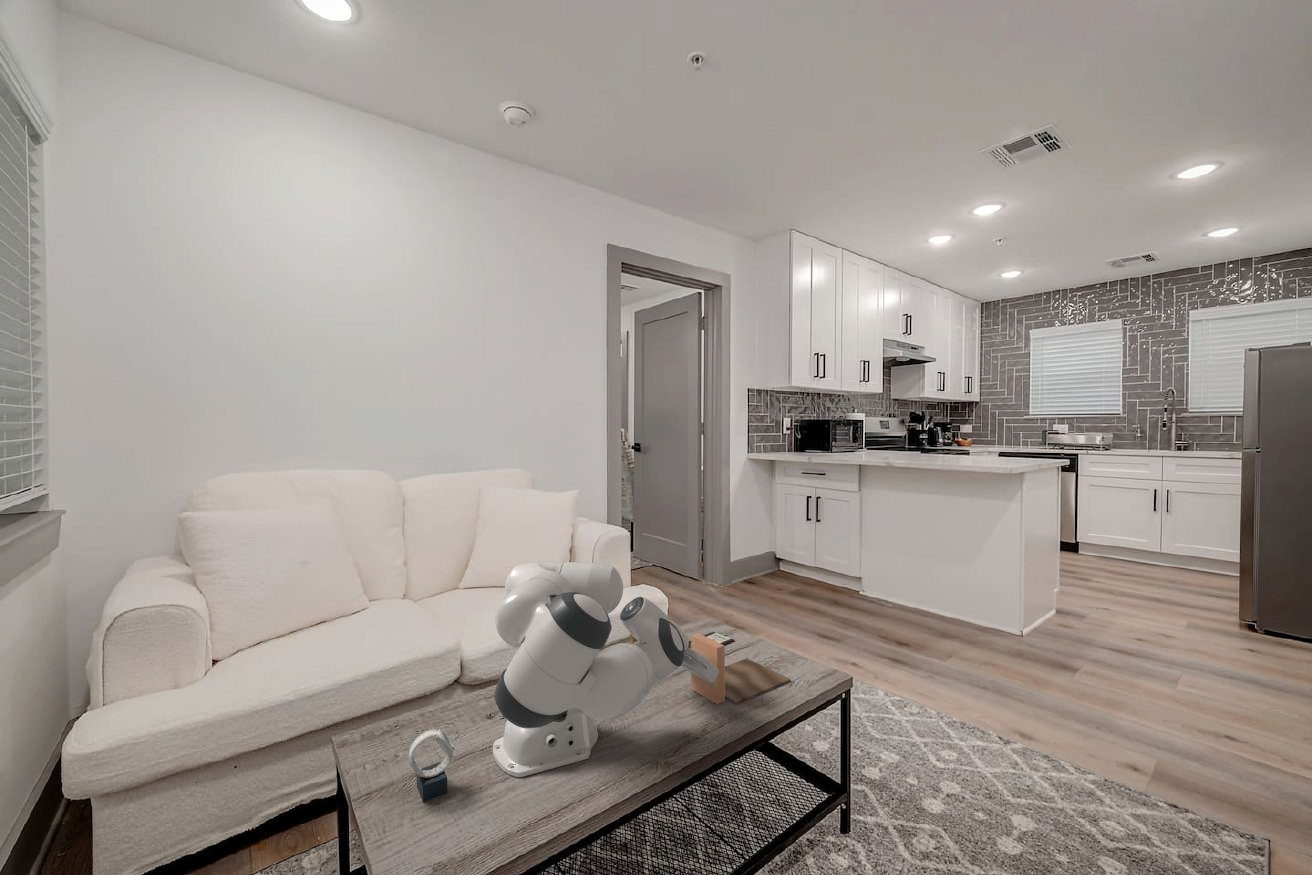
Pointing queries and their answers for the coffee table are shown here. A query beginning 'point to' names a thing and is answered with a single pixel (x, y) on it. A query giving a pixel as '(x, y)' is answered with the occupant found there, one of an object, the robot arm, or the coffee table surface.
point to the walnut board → (749, 680)
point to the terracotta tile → (717, 658)
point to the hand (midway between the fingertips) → (701, 673)
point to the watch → (432, 767)
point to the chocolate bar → (716, 639)
